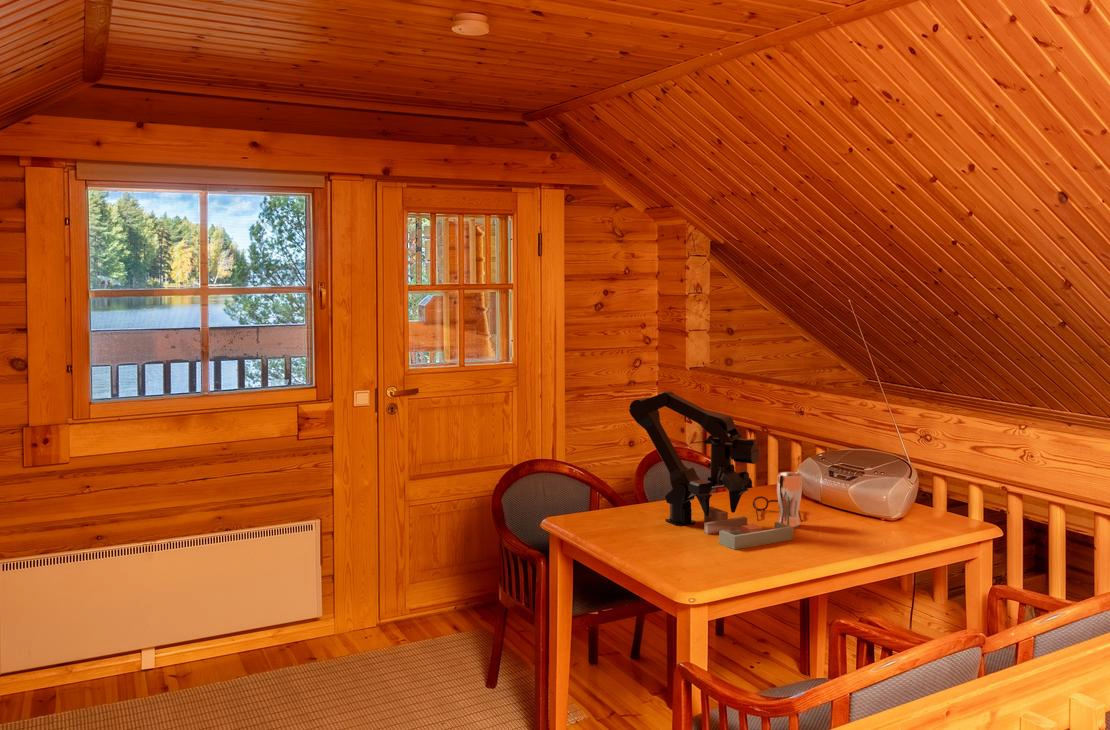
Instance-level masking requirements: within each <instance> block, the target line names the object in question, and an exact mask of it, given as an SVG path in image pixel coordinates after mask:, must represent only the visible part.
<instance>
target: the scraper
mask: <svg viewBox="0 0 1110 730" xmlns="http://www.w3.org/2000/svg"><path fill="white" fill-rule="evenodd" d="M703 515H704V516H703V520H704V521H703V526H704V527H703V532H704V534H705V535H713V534H719V533H718V532H719V531H721V529H725V528H732V527H734V528H736V529H739V530H741V526H744V525H748V517H746V516H740V517H734V518H729V512H728V511H725V510H723V509H720V508H716V507H714V506H709V516H708V517H707V516H705V514H704V513H703ZM712 533H713V534H712Z"/></svg>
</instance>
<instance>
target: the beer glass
mask: <svg viewBox="0 0 1110 730" xmlns="http://www.w3.org/2000/svg"><path fill="white" fill-rule="evenodd" d="M776 481H777V482H776V497H777V500H778V502H777V503H778V511H779V514H778V520H777V522H780V523H783V524H786V525H789V526H792V527H793V529H795V528H797V529H798V528H800V517H799V514H798V511H800V505H801V501H802V500H801V499H802V491H803V490H802V489H803V485H802V484H803V483H802V481H803V479H802V474H801V473H800V472H795V471H780V472H778V473H777V480H776Z"/></svg>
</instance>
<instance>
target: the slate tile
mask: <svg viewBox="0 0 1110 730" xmlns="http://www.w3.org/2000/svg"><path fill="white" fill-rule="evenodd" d="M721 531H725V532H728V533H731V534H733V535H740V534H742V531H741V529H736V528H734V527H732V528H725V529H721Z"/></svg>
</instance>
